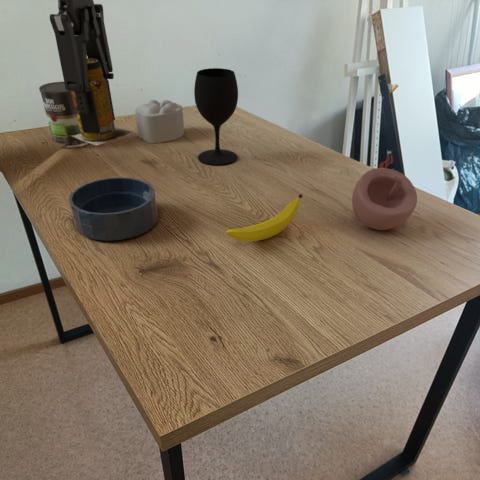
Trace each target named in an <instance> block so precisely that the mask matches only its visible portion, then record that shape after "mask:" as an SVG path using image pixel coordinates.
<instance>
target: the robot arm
mask: <svg viewBox="0 0 480 480" xmlns="http://www.w3.org/2000/svg"><path fill="white" fill-rule="evenodd" d="M57 8H58V12H57V13H50V14H49V21H50V24H51V27H52V31H53V33H54V36H55V41H56V47H57V53H58V59H59V62H60V63H59V64H60V67H61V72H62V78H63V82H64V83H65V88H66V90H68V91H72V92H75V95H76V100H77V105H78V109H79V114H80V119H81V123H82V128H83V133H98V134H99V133H100V128H99V123H98V118H97V112H96V107H95V102H94V97H93V91H90V90H89V82H88V67H87V58H93V59H98V60H99V61H100V62H101V68H102V71H103V76H104V78H105V79H106V81H107V86H108V92H109V97H110V103H111V109H112V115H113V121H114V122H115V120H116V116H115V111H114V105H113V99H112V93H111V88H110V82H109V80H113V79H114V78H115V77H114V76H115V75H114V73H113V71H114V70H113V62H112V58H111V53H110V47H109V42H108V36H107V31H106V25H105V17H104V6H103V4H102V3H95V1H94V0H57Z"/></svg>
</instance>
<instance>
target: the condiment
mask: <svg viewBox="0 0 480 480" xmlns="http://www.w3.org/2000/svg"><path fill="white" fill-rule="evenodd" d="M87 67H88V82H89V90H90V91H93V97H94V102H95V107H96V112H97V118H98V123H99V128H100V133H99V134H98V133H83V128H82V123H81V119H80V114H79V109H78V105H77V100H76V95H75V92H72V91H71V93H72V97H73V102H74V106H75V111H76V116H77V119H78V124H79V129H80V133H81V134H77V135H74V136H72V137H75V138H77V139H79V140H82V141H85V142H87V143H89V144H91V145H94V146H99V145H102V144H106V143H109V142H112V141H114V140H116V139H117V140H118V139H119V138H122V137H126V136H128V135H130V134H133V133H134V131H133V130H132V131H131V130H127V129H124V128H121V127H119V126H115V120H114V121H113V115H112V109H111V103H110V97H109V92H108V86H107V81H106V79H105V78H104V76H103V71H102V68H101V62H100V61H99V60H98V59H93V58H88V57H87Z"/></svg>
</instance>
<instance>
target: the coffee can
mask: <svg viewBox="0 0 480 480" xmlns="http://www.w3.org/2000/svg"><path fill="white" fill-rule="evenodd" d="M38 90H39V93H40V95H41V100H42V103H43V107H44V111H45V114H46V119H47V123H48V126H49V130H50V134H51V139H52V141H53V142H54V143H57V144H61V145H62V144H63V146H61V149H77V148H81V147H84V146H88V145H89V144H90V143H87V142H85V141H82V140H79V139H77V138H75V137H72V136H74V135H77V134H81V133H80V129H79V124H78V119H77V116H76V111H75V106H74V102H73V97H72V93H71V91H68V90H66V88H65V83H64V81H54V82H47V83H45V84H44V83H43V84H42V85H40V86H39V88H38Z"/></svg>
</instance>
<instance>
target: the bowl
mask: <svg viewBox="0 0 480 480" xmlns="http://www.w3.org/2000/svg"><path fill="white" fill-rule="evenodd" d="M68 203H69V207H70V211H71V215H72V219H73V222H74V223H73V224H74V226H75V228H76V231H77V232H78V233H80V234H81V235H82V236H83V237H85V238H86V237H87V238H88V239H93V240H97V241H106V242H107V241H108V242H110V241H122V240H127V239H130V238H131V239H132V238H135V237H138V236H140V235H142V234H144V233H147V232H148V231H149V230H151V229H152V228H154V227H155V225H156V223H157V222H158V220H159V216H158V215H159V214H158V205H157V198H156V190H155V188H154V187H153V186H152V184H150V183H149V182H147V181H145V180H142V179H140V178H135V177H125V176H118V177H117V176H116V177H105V178H99V179H95V180H92V181H89V182H86V183H83V184H82V185H80V186H78V187H76V188H75V189H74V190H73V191H72V192H70V195H69V198H68Z"/></svg>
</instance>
